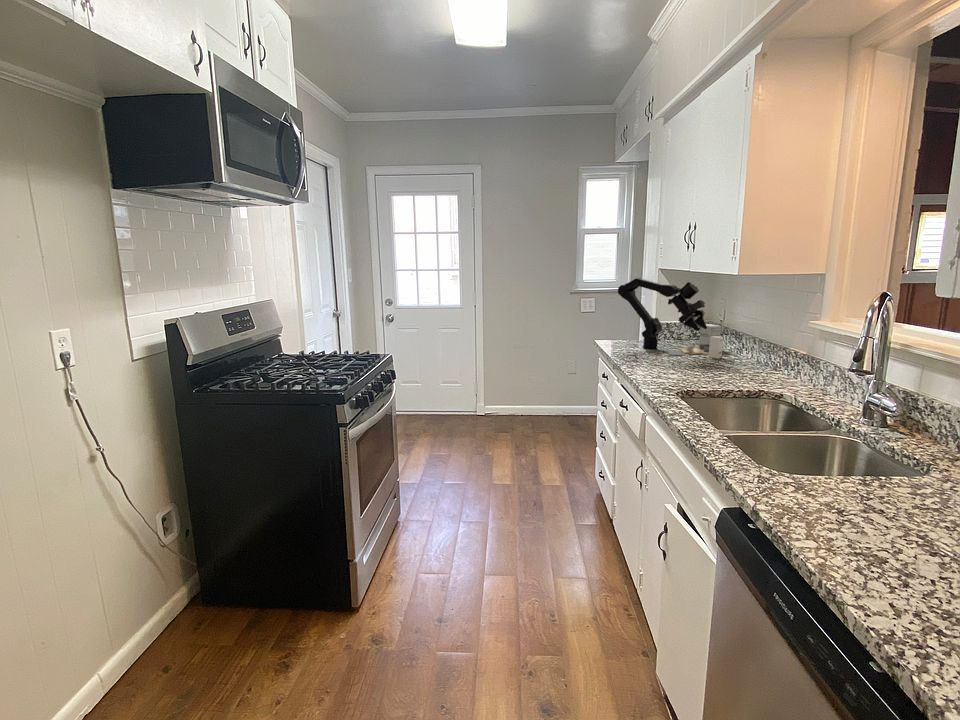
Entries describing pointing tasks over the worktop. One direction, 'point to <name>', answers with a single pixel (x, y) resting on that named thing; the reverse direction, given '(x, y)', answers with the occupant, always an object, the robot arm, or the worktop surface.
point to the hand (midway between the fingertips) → (702, 329)
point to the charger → (715, 347)
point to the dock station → (696, 349)
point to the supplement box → (709, 333)
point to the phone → (673, 353)
